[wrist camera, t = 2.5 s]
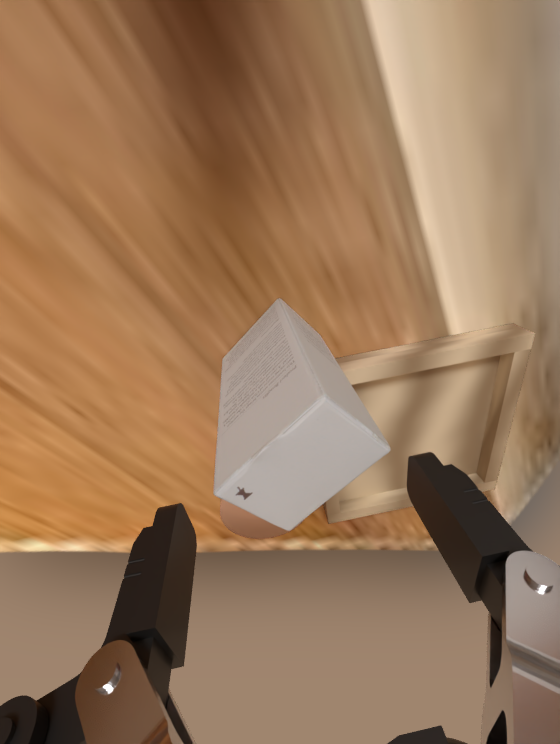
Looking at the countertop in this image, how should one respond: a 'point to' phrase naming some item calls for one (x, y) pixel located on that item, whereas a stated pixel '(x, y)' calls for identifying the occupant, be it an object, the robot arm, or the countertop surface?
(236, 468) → the skincare box
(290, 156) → the countertop surface
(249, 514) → the tan rounded blob
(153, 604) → the robot arm
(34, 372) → the countertop surface
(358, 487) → the maple tray
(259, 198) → the countertop surface
